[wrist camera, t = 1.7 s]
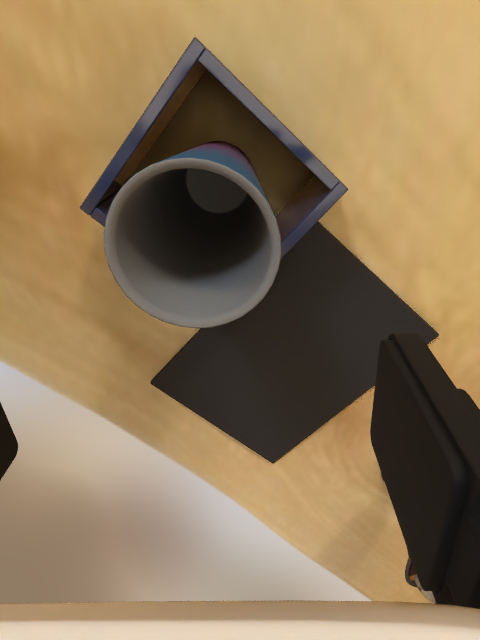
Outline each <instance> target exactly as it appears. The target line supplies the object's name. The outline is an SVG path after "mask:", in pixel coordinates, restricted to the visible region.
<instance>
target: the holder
mask: <svg viewBox="0 0 480 640" xmlns="http://www.w3.org/2000/svg"><path fill="white" fill-rule="evenodd" d="M206 69H207V70H208V71H209V72H210V73H211V74H212V75H213V76H214V77H215V78H216V79H217V80H218V81H219V82H220V83H221V84H222V85H223V86H224V87H225V88H226V89H227V90H228V91H229V92H230V93H231V94H232V95H233V96H234V97H236V98H237V99H238V100H239V101H240V102H241V103H242V104H243V105H244V106H245V107H246V108H247V109H248V110H249V111H250V112H251V113H252V114H253V115H254V116H255V117H256V118H257V119H258V120H259V121H260V122H261V123H262V124H263V125H264V126H265V127H266V128H267V129H268V130H269V131H270V132H271V133H272V134H273V135H274V136H275V137H277V138H278V139H279V140H280V141H281V142H282V143H283V144H284V145H285V146H286V147H287V148H288V149H289V150H290V151H291V152H292V153H293V154H294V155H295V156H296V157H297V158H298V159H299V160H300V161H301V162H302V163H303V164H304V165H305V166H306V167H307V168H308V169H309V170H310V171H311V172H312V173H313V174H314V176H313V177H312V178H311V179H310V181H309V182H308V183H307V184H306V185H305V186H304V187H303V188H302V189H301V190H300V191H299V193H298V194H297V195H296V196H295V197H294V198H293V199H292V200H291V201H290V202H289V203H288V205H287V206H286V207H285V208H284V209H283V210H282V211H281V212H280V213H279V214H278V215H277V217H276V220H277V224H278V228H279V232H280V238H281V257H280V260H281V258H282V257H283V256H284V255H285V254H286V253H287V252H288V251H289V250H290V249H291V248H292V247H293V246H294V245H295V244H296V243H297V242H298V241H299V240H300V239H301V238H302V237H303V236H304V235H305V234H306V233H307V232H308V231H309V230H310V229H311V228H312V227H313V225H314V224H315V223H316V222H317V221H318V220H319V219H320V218H321V217H322V216H323V215H324V214H325V213H326V212H327V211H328V210H329V209H330V208H331V207H332V206H333V205H334V204H335V203H336V202H337V201H338V200H339V199H340V198H341V197H342V196H343V195H344V194H345V192H346V191H347V190H348V188H347V187H346V186H345V185H344V184H343V183H342V182H341V181H340V180H339V179H338V178H337V177H336V176H335V175H334V174H333V173H332V172H331V171H330V170H329V169H328V168H327V167H326V166H325V165H324V164H323V163H322V162H321V161H320V160H319V159H318V158H317V157H316V156H315V155H314V154H313V153H312V152H311V151H310V150H309V149H308V148H307V147H306V146H305V145H304V144H303V143H302V142H301V141H300V140H299V139H298V138H297V137H296V136H295V135H294V134H292V133H291V132H290V131H289V130H288V129H287V128H286V127H285V126H284V125H283V124H282V123H281V122H280V121H279V120H278V119H277V118H276V117H275V116H274V115H273V114H272V113H271V112H270V111H269V110H268V109H267V108H266V107H265V106H264V105H263V104H262V103H261V102H260V101H259V100H258V99H257V98H256V97H255V96H254V95H253V94H252V93H251V92H250V91H249V90H248V89H247V88H246V87H245V86H244V85H243V84H242V83H241V82H240V81H239V80H238V79H237V78H236V77H235V76H234V75H233V74H232V73H231V72H230V71H229V70H228V69H227V68H226V67H225V66H224V65H223V64H222V63H221V62H220V61H219V60H218V59H217V58H216V57H215V56H214V55H213V54H212V53H211V52H210V51H209V50H208V49H207V48H206V47H205V46H204V45H203V44H202V43H201V42H200V41H199V40H198V39H197V38H196V37H195V38H193V40H192V41H191V43H190V44H189V46H188V47H187V49H186V50H185V52H184V53H183V55H182V56H181V58H180V59H179V61H178V62H177V64H176V65H175V67H174V68H173V70H172V71H171V73H170V74H169V76H168V77H167V79H166V80H165V82H164V83H163V84H162V86H161V87H160V89H159V90H158V92H157V93H156V95H155V96H154V98H153V99H152V101H151V102H150V104H149V105H148V107H147V108H146V110H145V111H144V113H143V114H142V116H141V117H140V119H139V120H138V122H137V123H136V125H135V126H134V128H133V129H132V131H131V132H130V134H129V135H128V137H127V138H126V139H125V141H124V142H123V144H122V145H121V147H120V148H119V150H118V151H117V153H116V154H115V156H114V157H113V159H112V160H111V162H110V163H109V165H108V166H107V168H106V169H105V171H104V172H103V174H102V175H101V177H100V178H99V180H98V181H97V183H96V184H95V186H94V187H93V189H92V190H91V191H90V193H89V194H88V196H87V197H86V199H85V200H84V202H83V203H82V205H81V206H80V209H81V210H83V211H84V212H85V213H87V214H88V215H90V216H91V217H92V218H93V219H95V220H96V221H97V222H99V223H100V224H101V225H103V226H104V227H105V223H106V217H107V214H108V211H109V209H110V206H111V204H112V201H113V199H114V198H115V196H116V195H117V193H118V192H119V190H120V189H121V187H122V186H123V185H124V184H125V183H126V182H127V180H128V179H129V177H130V176H131V174H132V173H133V172H134V170H135V169H136V167H137V166H138V165H139V163H140V162H141V160H142V159H143V158H144V156H145V155H146V153H147V152H148V150H149V149H150V148H151V146H152V145H153V143H154V142H155V141H156V139H157V138H158V136H159V135H160V133H161V132H162V131H163V129H164V128H165V126H166V125H167V124H168V122H169V121H170V119H171V118H172V116H173V115H174V114H175V112H176V111H177V109H178V108H179V107H180V105H181V104H182V102H183V101H184V99H185V98H186V97H187V95H188V94H189V92H190V91H191V90H192V88H193V87H194V85H195V84H196V83H197V81H198V80H199V78H200V77H201V75H202V74H203V73H204V71H205V70H206Z"/></svg>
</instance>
